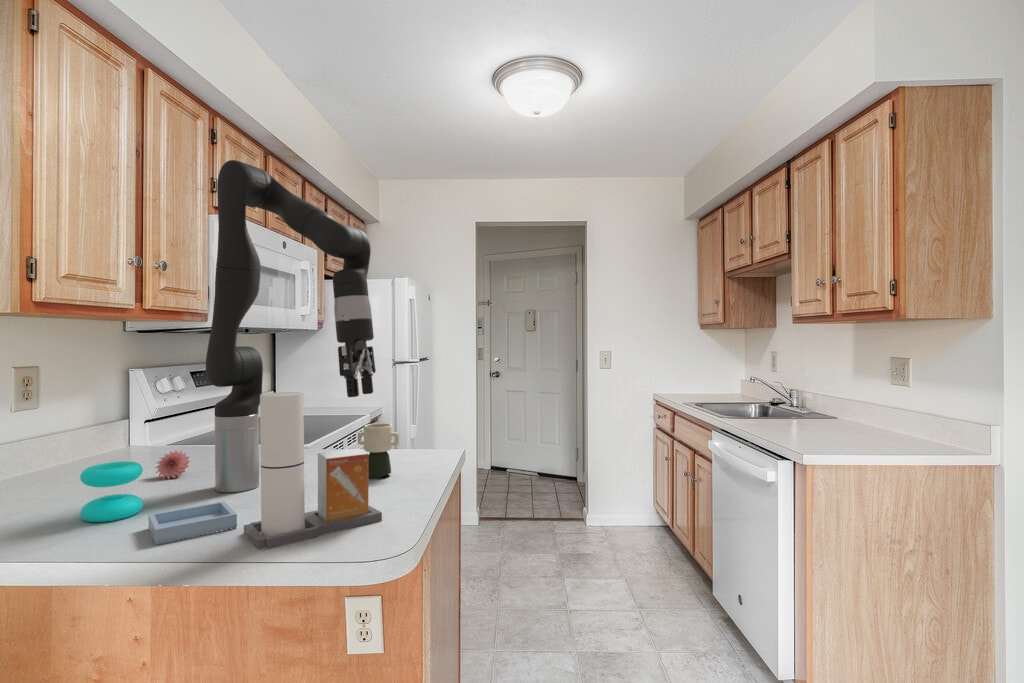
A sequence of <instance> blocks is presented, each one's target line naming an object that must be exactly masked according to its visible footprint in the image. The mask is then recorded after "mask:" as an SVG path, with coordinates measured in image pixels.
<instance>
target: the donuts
mask: <svg viewBox="0 0 1024 683" xmlns="http://www.w3.org/2000/svg"><path fill="white" fill-rule="evenodd" d="M143 472H144V471H143V466H142V465H141V464H140V463H139V462H137V461H114V462H105V463H100V464H95V465H92V466H88V467H86V468H85V469H83V470H82V472H81V473H80V476H79V478H80V481H81V482H82V484H84V485H85V486H87V487H88V486H89V487H93V488H110V487H117V486H122V485H126V484H129V483H131V482H135V480H137V479H138V478H139V477H141V475H142V474H143ZM143 507H144V501H143V500H142V498H141V497H140V496H138V495H134V494H130V493H118V494H110V495H104V496H101V497H98V498H95V499H92V500H91V501H89V502H87V503H86V504H85V505H84V506H83V507H82V508H81V509H80V517H81V518H82V519H83V520H84V521H86V522H89V523H107V521H108V522H114V521H118V520H122V519H123V520H124V519H127V518H130V517H133V516H135V515H136V514H138V513H139V512H140V511H141V510H143Z"/></svg>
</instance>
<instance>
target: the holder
mask: <svg viewBox="0 0 1024 683" xmlns="http://www.w3.org/2000/svg"><path fill="white" fill-rule="evenodd" d="M381 521H383V512H381V511H380V510H378V509H376V508H374V507H373V506H371V505H369V504H368V514H364V515H359V516H354V517H350V518H345V519H341V520H336V521H332V522H327V523H326V522H325V521H324V520H322V519H321V518H319V517H318V509H317V510H312V511H308V512H307V511H306V512H305V529H302V530H297V531H293V532H288V533H284V534H279V535H275V536H270V537H266V538H265V537H264V536H263V535H262V534H261V520H258V521H254V522H249V524H244V525H243V535H244V536H247V537H248V538H247V537H246V538H247V539H248V540H249V541H250V542H251V543H252V545H253V546H254V547H255V548H256V549H257V550H263V549H266V550H267V549H271V548H277V547H279V546H280V547H281V546H284V545H285V546H286V545H289V544H293V542H294V543H297V541H298V542H301V540H302V541H305V540H310V538H311V539H314V537H315V538H318V536H322V535H326V533H327V534H329V533H333V531H334V532H339V531H342V529H343V530H347V529H350V527H352V528H355V526H356V527H359V525H360V526H363V525H368V523H369V524H372V522H373V523H377V522H381ZM338 530H339V531H338ZM321 534H322V535H321Z"/></svg>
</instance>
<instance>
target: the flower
mask: <svg viewBox="0 0 1024 683" xmlns="http://www.w3.org/2000/svg"><path fill="white" fill-rule="evenodd" d="M189 457H190V456H187V452H184V453H183V451H182V450H180V451H179V452H178V450H176V449H175V451H174V452H173V451H171V450H169V454H168V453H164V456H163V457H159V461H157V462H156V464H158V465H157V466H156V467H155V469H157V471H156V472H155V474H157V473H159V474H158V477H161V476H162V480H165V478H166V479H168V480H169V481H170V479H171V478H173V479H176V477H180V476H182V474H183V473H185V472H186V469H188V467H189V463H190V462H191V461H190V460H189Z"/></svg>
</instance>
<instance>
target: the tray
mask: <svg viewBox="0 0 1024 683" xmlns="http://www.w3.org/2000/svg"><path fill="white" fill-rule="evenodd" d="M147 516H148V530H150V531H149V533H150V535H151V537H153V538H152V540H153V542H155V543H154V545H155V546H157V544H158V545H162V544H161V543H163V544H166V543H165V542H168V543H171V542H170V541H173V542H175V541H174V540H178V541H180V540H179V539H182V540H184V539H183V538H187V539H189V538H188V537H192V538H194V537H193V536H197V537H199V536H198V535H202V536H204V535H203V534H207V533H212V532H216V531H221V530H226V529H231V528H236V527H237V528H238V514H237V512H236V511H234V509H232V508H231V506H229V504H228V503H227V502H226V501H225V500H223V501H216V502H211V503H205V504H200V505H194V506H188V507H183V508H179V509H178V508H176V509H172V510H171V509H170V510H166V511H160V512H154V513H149V514H147ZM237 528H236V529H237ZM231 530H232V529H231ZM226 531H227V530H226ZM221 532H222V531H221ZM216 533H217V532H216ZM212 534H213V533H212ZM207 535H208V534H207Z"/></svg>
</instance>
